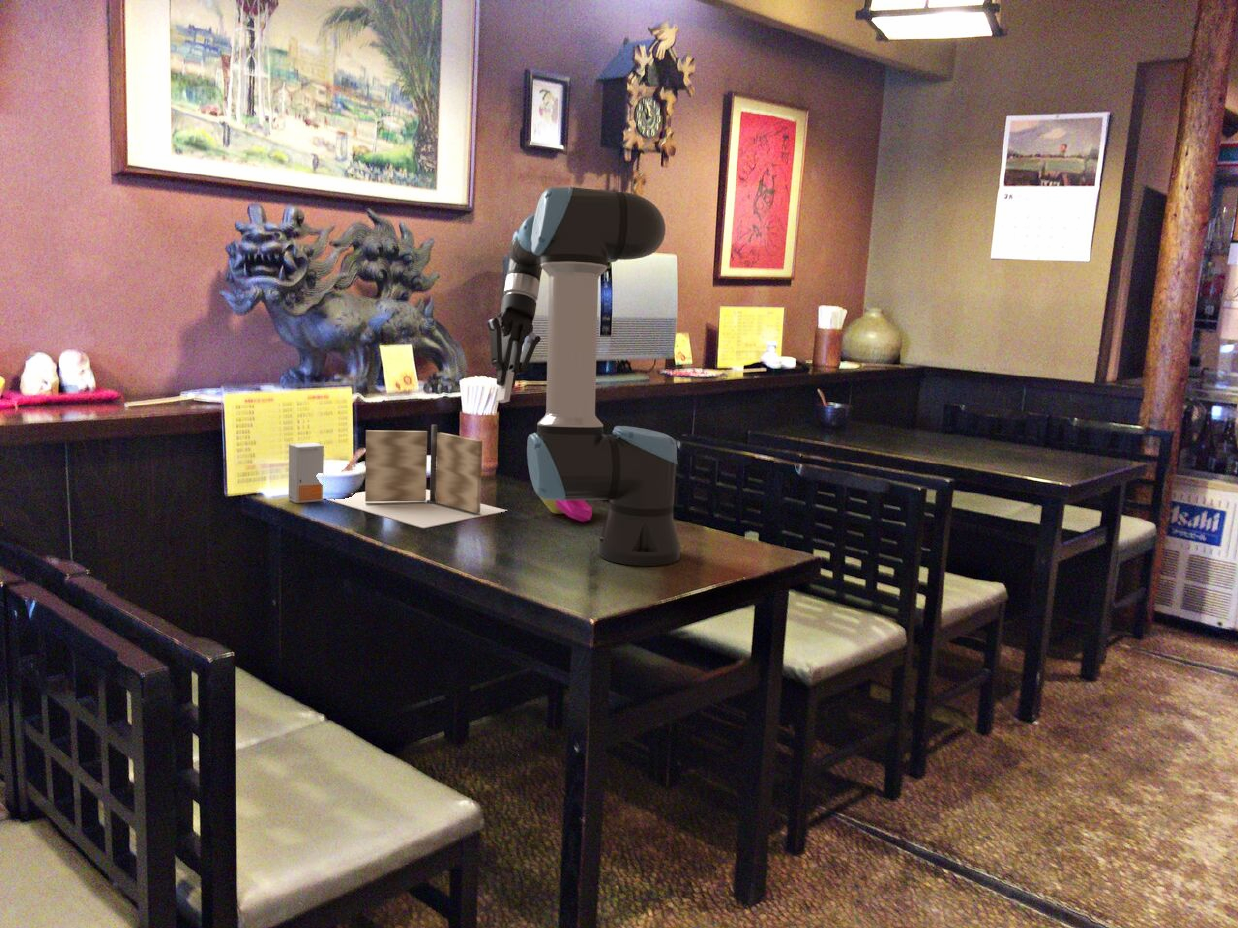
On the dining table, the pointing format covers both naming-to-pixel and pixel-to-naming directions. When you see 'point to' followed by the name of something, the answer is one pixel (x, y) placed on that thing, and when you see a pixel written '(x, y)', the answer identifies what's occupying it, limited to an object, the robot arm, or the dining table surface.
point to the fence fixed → (455, 471)
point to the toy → (570, 508)
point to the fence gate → (395, 466)
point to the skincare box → (305, 472)
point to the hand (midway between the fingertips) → (502, 401)
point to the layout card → (416, 510)
